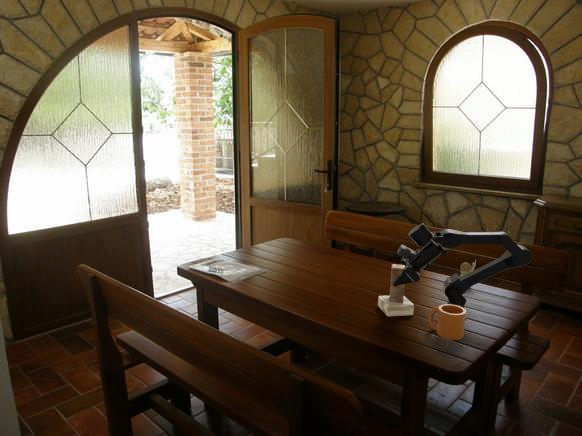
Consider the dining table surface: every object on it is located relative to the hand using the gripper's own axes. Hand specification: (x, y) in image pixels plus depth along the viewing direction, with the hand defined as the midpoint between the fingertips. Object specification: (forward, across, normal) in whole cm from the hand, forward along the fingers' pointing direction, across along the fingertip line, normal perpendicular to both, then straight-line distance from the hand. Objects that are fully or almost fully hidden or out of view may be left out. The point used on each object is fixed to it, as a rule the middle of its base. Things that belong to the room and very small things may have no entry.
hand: (393, 281), depth 178 cm
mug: (-4, +15, +21) cm, 26 cm away
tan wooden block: (+4, 0, +6) cm, 8 cm away
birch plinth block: (+7, 0, +9) cm, 12 cm away
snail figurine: (-14, -36, +31) cm, 50 cm away
